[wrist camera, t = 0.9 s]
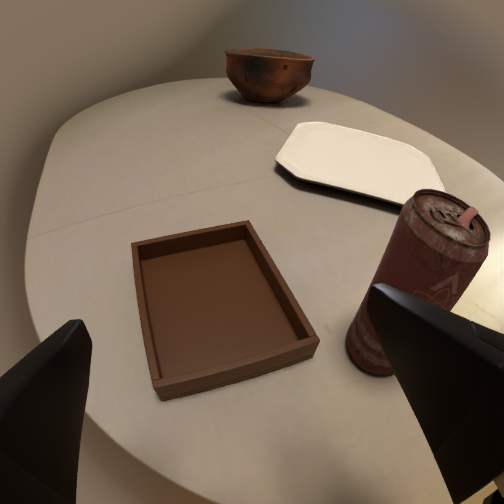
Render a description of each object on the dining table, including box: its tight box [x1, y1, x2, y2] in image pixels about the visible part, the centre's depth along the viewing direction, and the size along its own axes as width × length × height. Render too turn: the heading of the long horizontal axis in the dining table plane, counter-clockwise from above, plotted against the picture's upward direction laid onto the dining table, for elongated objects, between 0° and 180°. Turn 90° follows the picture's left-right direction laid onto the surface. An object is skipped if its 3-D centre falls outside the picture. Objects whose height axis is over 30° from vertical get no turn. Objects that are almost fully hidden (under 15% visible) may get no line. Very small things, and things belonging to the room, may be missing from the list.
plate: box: [275, 122, 446, 206], centre depth 50 cm, size 29×29×2 cm
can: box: [346, 189, 490, 375], centre depth 19 cm, size 6×6×14 cm
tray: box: [131, 220, 320, 401], centre depth 26 cm, size 15×12×3 cm
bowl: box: [225, 48, 315, 102], centre depth 76 cm, size 25×25×15 cm
